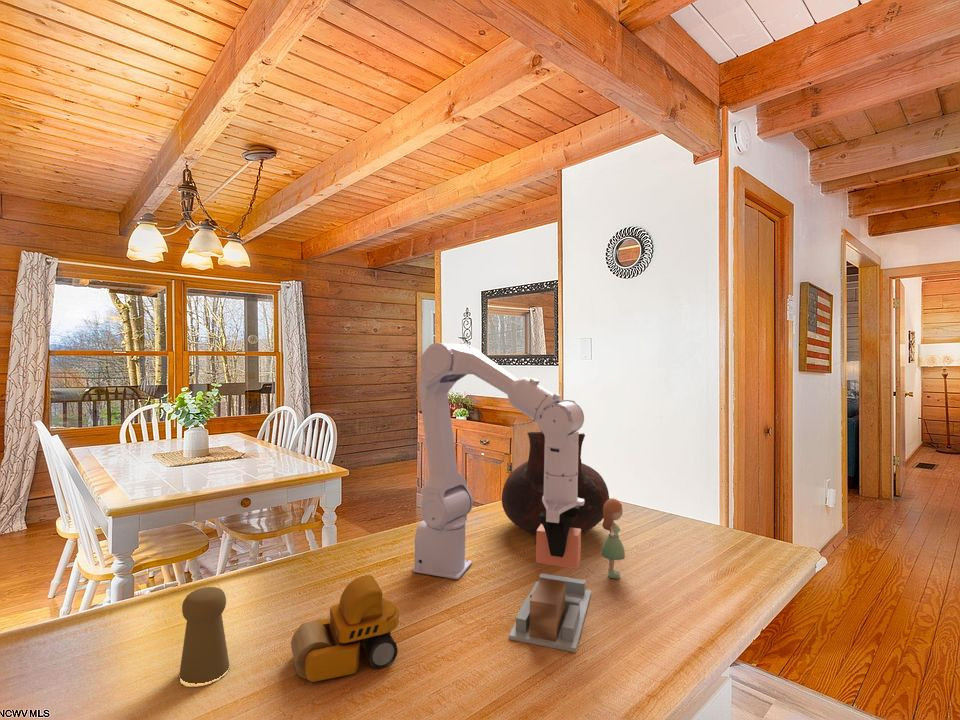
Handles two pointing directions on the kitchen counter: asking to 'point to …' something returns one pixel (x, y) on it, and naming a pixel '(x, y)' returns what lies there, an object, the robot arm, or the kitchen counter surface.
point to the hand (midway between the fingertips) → (559, 551)
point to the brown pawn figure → (204, 636)
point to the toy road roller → (348, 634)
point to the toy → (612, 535)
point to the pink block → (571, 550)
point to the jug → (528, 490)
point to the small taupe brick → (547, 609)
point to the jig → (573, 619)
